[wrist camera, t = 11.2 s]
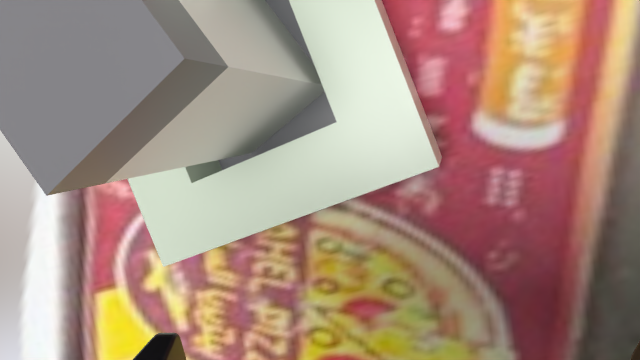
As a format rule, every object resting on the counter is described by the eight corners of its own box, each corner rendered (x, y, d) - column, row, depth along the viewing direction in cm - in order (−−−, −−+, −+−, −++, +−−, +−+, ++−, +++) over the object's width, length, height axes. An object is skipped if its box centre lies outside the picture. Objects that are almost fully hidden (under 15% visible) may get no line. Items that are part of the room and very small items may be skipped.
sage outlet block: (442, 156, 21) (439, 166, 18) (207, 243, 25) (163, 266, 22) (336, -116, 21) (310, -167, 17) (115, 15, 25) (53, -3, 21)
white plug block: (330, 86, 21) (184, 58, 10) (251, 153, 23) (46, 195, 11) (264, -1, 22) (49, -124, 10) (191, 71, 23) (-68, 33, 12)
